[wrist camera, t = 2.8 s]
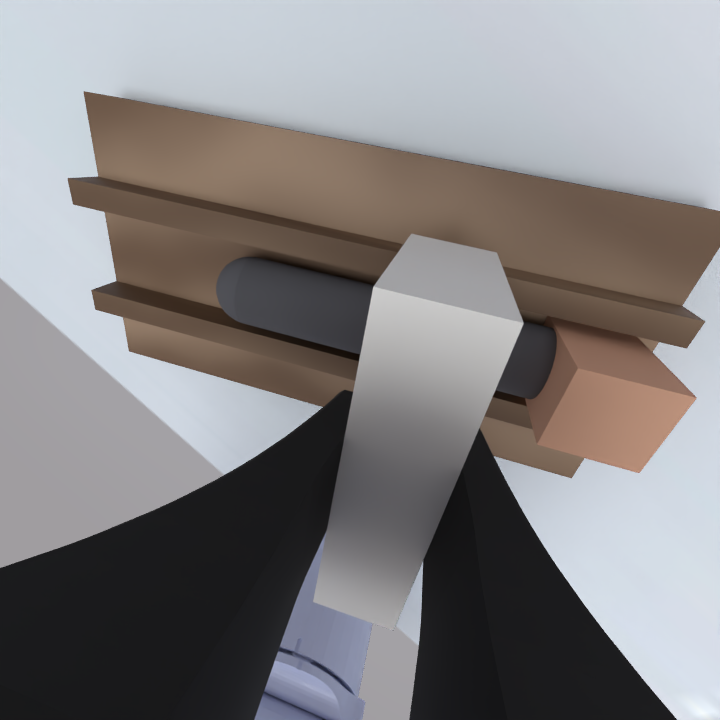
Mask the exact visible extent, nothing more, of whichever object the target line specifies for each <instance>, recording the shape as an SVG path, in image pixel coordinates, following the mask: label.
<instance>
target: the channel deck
mask: <svg viewBox="0 0 720 720" xmlns="http://www.w3.org/2000/svg"><path fill="white" fill-rule="evenodd" d="M84 97H85V102H86V108H87V114H88V120H89V125H90V131H91V137H92V142H93V148H94V154H95V160H96V165H97V171H98V177H82V178H68V183H69V187H70V192H71V197H72V201H73V204H74V205H78V206H82V207H87V208H91V209H95V210H99V211H104V212H105V217H106V222H107V228H108V234H109V240H110V245H111V251H112V257H113V262H114V268H115V274H116V280H117V281H116V282H113V283H110V284H107V285H104V286H102V287H99V288H96V289H93V290H92V295H93V300H94V305H95V309H96V310H99V311H103V312H106V313H110V314H113V315H117V316H121V317H123V320H124V325H125V331H126V337H127V342H128V348H129V351H130V352H133V353H137V354H140V355H144V356H147V357H151V358H154V359H158V360H161V361H165V362H168V363H172V364H175V365H179V366H182V367H186V368H189V369H193V370H196V371H200V372H203V373H207V374H210V375H214V376H217V377H221V378H224V379H228V380H231V381H234V382H238V383H241V384H245V385H248V386H252V387H255V388H259V389H262V390H266V391H269V392H273V393H276V394H280V395H283V396H287V397H290V398H294V399H297V400H301V401H304V402H308V403H311V404H315V405H318V406H322V407H324V406H325V405H326V404H327V403H329V402H330V401H331V400H332V399H333V398H334V397H335V396H336V395H337V394H338V393H339V392H341V391H343V390H348V391H352V392H353V390H354V385H355V380H356V375H357V370H358V364H359V359H360V354H357V353H353V352H349V351H345V350H341V349H338V348H334V347H330V346H326V345H323V344H319V343H315V342H311V341H307V340H304V339H300V338H296V337H292V336H289V335H285V334H281V333H277V332H273V331H270V330H266V329H262V328H258V327H254V326H251V325H247V324H243V323H241V322H238V321H236V320H234V319H233V318H231V317H230V316H228V315H227V314H226V313H225V312H224V310H223V309H222V307H221V306H220V304H219V301H218V298H217V294H216V284H217V279H218V277H219V274H220V273H221V271H222V270H223V269H224V267H225V266H226V265H227V264H229V263H230V262H232V261H233V260H235V259H238V258H242V257H257V258H261V259H266V260H270V261H274V262H278V263H282V264H287V265H291V266H295V267H299V268H303V269H308V270H312V271H316V272H320V273H324V274H329V275H333V276H337V277H341V278H345V279H349V280H354V281H358V282H362V283H366V284H370V285H375V284H376V282H377V281H378V280H379V278H380V277H381V275H382V274H383V273H384V271H385V270H386V268H387V267H388V266H389V264H390V263H391V261H392V260H393V259H394V257H395V256H396V254H397V253H398V252H399V250H400V249H401V247H402V246H403V245H404V243H405V242H406V240H407V239H408V238H409V236H410V235H411V234H415V235H420V236H424V237H429V238H433V239H438V240H442V241H447V242H451V243H456V244H461V245H465V246H470V247H474V248H479V249H483V250H488V251H492V252H497V254H498V257H499V260H500V262H501V265H502V267H503V270H504V273H505V275H506V278H507V281H508V283H509V286H510V288H511V291H512V294H513V296H514V299H515V302H516V304H517V307H518V309H519V312H520V315H521V317H522V320H523V321H526V322H530V323H534V324H538V325H542V326H543V325H544V323H545V321H546V318H547V316H551V317H555V318H559V319H564V320H568V321H572V322H576V323H581V324H585V325H589V326H593V327H598V328H602V329H606V330H610V331H615V332H619V333H623V334H628V335H632V336H636V337H638V338H639V339H640V340H641V341H642V342H643V343H644V344H645V345H646V346H647V347H648V348H649V349H650V351H651V352H653V350H654V349H655V347H656V346H657V344H658V343H659V342H662V343H666V344H670V345H674V346H679V347H683V348H687V347H688V346H689V344H690V343H691V341H692V340H693V339H694V337H695V336H696V334H697V333H698V331H699V330H700V328H701V327H702V326H703V324H704V323H705V321H704V320H702V319H701V318H699V317H698V316H696V315H695V314H693V313H692V312H690V311H689V310H687V309H686V308H684V307H683V306H682V305H683V304H684V302H685V300H686V299H687V297H688V296H689V294H690V293H691V291H692V290H693V288H694V286H695V285H696V283H697V282H698V280H699V279H700V277H701V276H702V274H703V272H704V271H705V269H706V268H707V266H708V265H709V263H710V262H711V260H712V258H713V257H714V255H715V254H716V252H717V251H718V249H719V247H720V211H716V210H712V209H707V208H701V207H696V206H691V205H686V204H680V203H675V202H670V201H664V200H659V199H654V198H648V197H643V196H638V195H633V194H627V193H622V192H617V191H611V190H606V189H601V188H595V187H590V186H585V185H580V184H574V183H569V182H564V181H558V180H553V179H548V178H542V177H537V176H532V175H527V174H521V173H516V172H511V171H505V170H500V169H495V168H489V167H484V166H479V165H474V164H468V163H463V162H458V161H452V160H447V159H442V158H436V157H431V156H426V155H421V154H415V153H410V152H405V151H399V150H394V149H389V148H383V147H378V146H373V145H368V144H362V143H357V142H352V141H346V140H341V139H336V138H330V137H325V136H320V135H315V134H309V133H304V132H299V131H293V130H288V129H283V128H277V127H272V126H267V125H262V124H256V123H251V122H246V121H240V120H235V119H230V118H224V117H219V116H214V115H209V114H203V113H198V112H193V111H187V110H182V109H177V108H171V107H166V106H161V105H156V104H150V103H145V102H140V101H134V100H129V99H124V98H118V97H113V96H107V95H101V94H96V93H90V92H85V91H84ZM480 429H481V431H482V433H483V435H484V437H485V439H486V442H487V444H488V446H489V448H490V450H491V452H492V454H493V456H496V457H499V458H503V459H506V460H510V461H513V462H517V463H520V464H524V465H527V466H531V467H534V468H538V469H541V470H545V471H548V472H552V473H555V474H559V475H562V476H566V477H569V478H572V477H573V475H574V474H575V472H576V470H577V469H578V467H579V466H580V464H581V463H582V461H583V460H584V458H583V457H580V456H576V455H572V454H569V453H565V452H562V451H558V450H554V449H551V448H547V447H544V446H540V445H537V443H536V439H535V435H534V431H533V428H532V424H531V420H530V416H529V412H528V408H527V404H526V400H525V398H523V397H519V396H515V395H512V394H508V393H504V392H500V391H497V390H495V392H494V395H493V397H492V399H491V402H490V404H489V406H488V409H487V411H486V413H485V416H484V418H483V421H482V423H481V425H480Z"/></svg>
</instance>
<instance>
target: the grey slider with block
mask: <svg viewBox="0 0 720 720" xmlns="http://www.w3.org/2000/svg"><path fill="white" fill-rule="evenodd" d="M373 287H374V285H370V284H366V283H362V282H358V281H354V280H349V279H345V278H341V277H337V276H333V275H329V274H324V273H320V272H316V271H312V270H308V269H303V268H299V267H295V266H291V265H287V264H282V263H278V262H274V261H270V260H266V259H261V258H257V257H242V258H238V259H235V260H233V261H232V262H230V263H229V264H227V265H226V266H225V267H224V269H223V270H222V271H221V273H220V274H219V277H218V279H217V284H216V294H217V298H218V301H219V304H220V306H221V307H222V309H223V310H224V312H225V313H226V314H227V315H228V316H230V317H231V318H233V319H234V320H236V321H238V322H241V323H243V324H247V325H251V326H254V327H258V328H262V329H266V330H270V331H273V332H277V333H281V334H285V335H289V336H292V337H296V338H300V339H304V340H307V341H311V342H315V343H319V344H323V345H326V346H330V347H334V348H338V349H341V350H345V351H349V352H353V353H357V354H361V349H362V344H363V338H364V333H365V328H366V323H367V317H368V312H369V307H370V302H371V297H372V291H373ZM523 323H524V324H523V326H522V329H521V331H520V333H519V336H518V338H517V340H516V343H515V345H514V347H513V350H512V352H511V354H510V357H509V359H508V362H507V364H506V366H505V369H504V371H503V373H502V376H501V378H500V380H499V383H498V385H497V388H496V390H497V391H500V392H504V393H508V394H512V395H515V396H519V397H523V398H525V400H526V404H527V408H528V412H529V416H530V420H531V424H532V428H533V431H534V435H535V439H536V443H537V445H540V446H544V447H547V448H551V449H554V450H558V451H562V452H565V453H569V454H572V455H576V456H580V457H583V458H587V459H590V460H594V461H597V462H601V463H605V464H608V465H612V466H615V467H619V468H623V469H626V470H630V471H633V472H637V473H640V471H641V470H642V469H643V468H644V466H645V465H646V464H647V462H648V461H649V460H650V458H651V457H652V456H653V454H654V453H655V452H656V451H657V449H658V448H659V447H660V445H661V444H662V443H663V441H664V440H665V439H666V437H667V436H668V435H669V434H670V432H671V431H672V430H673V428H674V427H675V426H676V424H677V423H678V422H679V421H680V419H681V418H682V417H683V415H684V414H685V413H686V411H687V410H688V409H689V407H690V406H691V405H692V404H693V402H694V401H695V400H696V397H695V396H694V395H693V393H692V392H691V391H690V390H689V389H688V388H687V387H686V386H685V385H684V384H683V383H682V382H681V381H680V380H679V379H678V378H677V377H676V376H675V375H674V374H673V373H672V372H671V371H670V370H669V369H668V368H667V367H666V366H665V365H664V364H663V363H662V362H661V361H660V360H659V359H658V358H657V357H656V356H655V355H654V354H653V353H652V352H651V351H650V349H649V348H648V347H647V346H646V345H645V344H644V343H643V342H642V341H641V340H640V339H639V338H638V337H636V336H632V335H628V334H623V333H619V332H615V331H610V330H606V329H602V328H598V327H593V326H589V325H585V324H581V323H576V322H572V321H568V320H564V319H559V318H555V317H551V316H547V318H546V321H545V323H544V325H543V326H542V325H538V324H534V323H530V322H526V321H523Z"/></svg>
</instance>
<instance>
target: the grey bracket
mask: <svg viewBox="0 0 720 720" xmlns="http://www.w3.org/2000/svg"><path fill="white" fill-rule="evenodd" d="M523 324H524V323H523V320H522V317H521V315H520V312H519V309H518V307H517V304H516V302H515V299H514V296H513V294H512V291H511V288H510V286H509V283H508V281H507V278H506V275H505V273H504V270H503V267H502V265H501V262H500V260H499V257H498V254H497V252H492V251H488V250H483V249H479V248H474V247H470V246H465V245H461V244H456V243H451V242H447V241H442V240H438V239H433V238H429V237H424V236H420V235H415V234H411V235H410V236H409V238H408V239H407V240H406V242H405V243H404V245H403V246H402V247H401V249H400V250H399V252H398V253H397V254H396V256H395V257H394V259H393V260H392V261H391V263H390V264H389V266H388V267H387V268H386V270H385V271H384V273H383V274H382V275H381V277H380V278H379V280H378V281H377V282H376V284H375V285H374V287H373V291H372V297H371V302H370V307H369V312H368V317H367V323H366V328H365V333H364V338H363V344H362V349H361V354H360V359H359V364H358V370H357V375H356V380H355V385H354V390H353V396H352V401H351V406H350V411H349V417H348V422H347V427H346V432H345V437H344V443H343V448H342V453H341V458H340V463H339V469H338V474H337V479H336V484H335V490H334V495H333V500H332V505H331V511H330V516H329V521H328V527H327V531H326V536H325V542H324V547H323V552H322V557H321V563H320V568H319V573H318V578H317V583H316V589H315V594H314V599H313V602H314V603H317V604H320V605H323V606H326V607H328V608H331V609H334V610H337V611H339V612H342V613H345V614H348V615H350V616H353V617H356V618H359V619H362V620H364V621H367V622H370V623H373V624H375V625H378V626H381V627H384V628H387V629H389V630H392V631H394V628H395V626H396V624H397V621H398V619H399V616H400V614H401V612H402V609H403V607H404V605H405V602H406V600H407V598H408V595H409V593H410V590H411V588H412V586H413V583H414V581H415V579H416V576H417V574H418V572H419V569H420V567H421V565H422V562H423V560H424V557H425V555H426V553H427V550H428V548H429V546H430V543H431V541H432V539H433V536H434V534H435V531H436V529H437V527H438V524H439V522H440V520H441V517H442V515H443V513H444V510H445V508H446V506H447V503H448V501H449V498H450V496H451V494H452V491H453V489H454V487H455V484H456V482H457V480H458V477H459V475H460V472H461V470H462V468H463V465H464V463H465V461H466V458H467V456H468V454H469V451H470V449H471V447H472V444H473V442H474V439H475V437H476V435H477V432H478V430H479V428H480V425H481V423H482V421H483V418H484V416H485V413H486V411H487V409H488V406H489V404H490V402H491V399H492V397H493V395H494V392H495V390H496V388H497V385H498V383H499V380H500V378H501V376H502V373H503V371H504V369H505V366H506V364H507V362H508V359H509V357H510V354H511V352H512V350H513V347H514V345H515V343H516V340H517V338H518V336H519V333H520V331H521V329H522V326H523Z"/></svg>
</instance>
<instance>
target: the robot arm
mask: <svg viewBox="0 0 720 720" xmlns="http://www.w3.org/2000/svg"><path fill="white" fill-rule="evenodd" d="M352 396H353V392H352V391H348V390H343V391H341V392H339V393H338V394H337V395H336V396H335V397H334V398H333V399H332V400H331V401H330V402H329V403H327V404H326V405H325V406H324V407H323V408H322V409H320V410H319V411H318V412H317V413H316V414H314V415H313V416H312V417H311V418H309V419H308V420H307V421H305V422H304V423H303V424H302V425H300V426H299V427H298V428H296V429H295V430H294V431H292V432H291V433H290V434H288V435H287V436H286V437H284V438H283V439H281V440H280V441H278V442H277V443H275V444H274V445H272V446H271V447H269V448H268V449H266V450H265V451H263V452H262V453H260V454H259V455H257V456H256V457H254V458H253V459H251V460H249V461H248V462H246V463H245V464H243V465H241V466H239V467H238V468H236V469H234V470H233V471H231V472H229V473H227V474H225V475H224V476H222V477H220V478H218V479H217V480H215V481H213V482H211V483H209V484H207V485H205V486H203V487H201V488H199V489H197V490H195V491H193V492H191V493H189V494H187V495H185V496H183V497H181V498H179V499H177V500H175V501H173V502H171V503H169V504H166V505H164V506H162V507H160V508H158V509H156V510H153V511H151V512H149V513H146V514H144V515H141V516H139V517H136V518H134V519H132V520H129V521H127V522H124V523H122V524H120V525H118V526H115V527H112V528H110V529H108V530H106V531H103V532H100V533H98V534H95V535H93V536H90V537H88V538H85V539H82V540H80V541H77V542H75V543H72V544H69V545H67V546H64V547H61V548H58V549H55V550H52V551H49V552H46V553H43V554H40V555H37V556H34V557H31V558H28V559H25V560H23V561H20V562H17V563H14V564H11V565H8V566H6V567H2V568H0V720H362V718H363V712H364V707H365V701H364V700H362V699H360V698H358V695H359V690H360V685H361V680H362V675H363V669H364V665H365V659H366V654H367V649H368V643H369V639H370V634H371V629H372V624H373V623H370V622H367V621H364V620H362V619H359V618H356V617H353V616H350V615H348V614H345V613H342V612H339V611H337V610H334V609H331V608H328V607H326V606H323V605H320V604H317V603H314V602H313V599H314V594H315V589H316V583H317V578H318V573H319V568H320V563H321V557H322V552H323V547H324V542H325V536H326V531H327V527H328V521H329V516H330V511H331V505H332V500H333V495H334V490H335V484H336V479H337V474H338V469H339V463H340V458H341V453H342V448H343V443H344V437H345V432H346V427H347V422H348V417H349V411H350V406H351V401H352ZM410 720H677V719H676V718H675V717H674V716H673V714H672V713H671V712H670V711H669V710H668V709H667V707H666V706H665V705H664V704H663V703H662V701H661V700H660V699H659V698H658V697H657V696H656V694H655V693H654V692H653V691H652V690H651V688H650V687H649V686H648V685H647V684H646V683H645V681H644V680H643V679H642V678H641V676H640V675H639V674H638V673H637V671H636V670H635V669H634V668H633V666H632V665H631V664H630V663H629V662H628V660H627V659H626V658H625V657H624V655H623V654H622V653H621V652H620V650H619V649H618V648H617V647H616V645H615V644H614V643H613V642H612V640H611V639H610V638H609V637H608V635H607V634H606V633H605V632H604V630H603V629H602V628H601V626H600V625H599V624H598V622H597V621H596V620H595V618H594V617H593V616H592V615H591V613H590V612H589V611H588V609H587V608H586V607H585V605H584V604H583V602H582V601H581V600H580V598H579V597H578V595H577V594H576V593H575V591H574V590H573V588H572V587H571V586H570V584H569V583H568V581H567V580H566V579H565V577H564V576H563V574H562V573H561V572H560V570H559V569H558V567H557V566H556V564H555V563H554V561H553V560H552V558H551V557H550V555H549V554H548V552H547V551H546V549H545V548H544V546H543V544H542V543H541V541H540V539H539V538H538V536H537V535H536V533H535V531H534V530H533V528H532V526H531V525H530V523H529V521H528V520H527V518H526V516H525V515H524V513H523V511H522V509H521V508H520V506H519V504H518V502H517V500H516V498H515V497H514V495H513V493H512V491H511V489H510V487H509V486H508V484H507V482H506V480H505V478H504V476H503V474H502V472H501V470H500V468H499V466H498V464H497V462H496V460H495V458H494V456H493V454H492V452H491V450H490V448H489V446H488V444H487V442H486V439H485V437H484V435H483V433H482V431H481V429H480V428H479V430H478V432H477V435H476V437H475V439H474V442H473V444H472V447H471V449H470V451H469V454H468V456H467V458H466V461H465V463H464V465H463V468H462V470H461V472H460V475H459V477H458V480H457V482H456V484H455V487H454V489H453V491H452V494H451V496H450V498H449V501H448V503H447V506H446V508H445V510H444V513H443V515H442V517H441V520H440V522H439V524H438V527H437V529H436V531H435V534H434V536H433V539H432V541H431V543H430V546H429V548H428V550H427V553H426V555H425V557H424V560H423V585H422V612H421V628H420V641H419V650H418V658H417V665H416V673H415V681H414V690H413V697H412V705H411V712H410Z"/></svg>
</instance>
